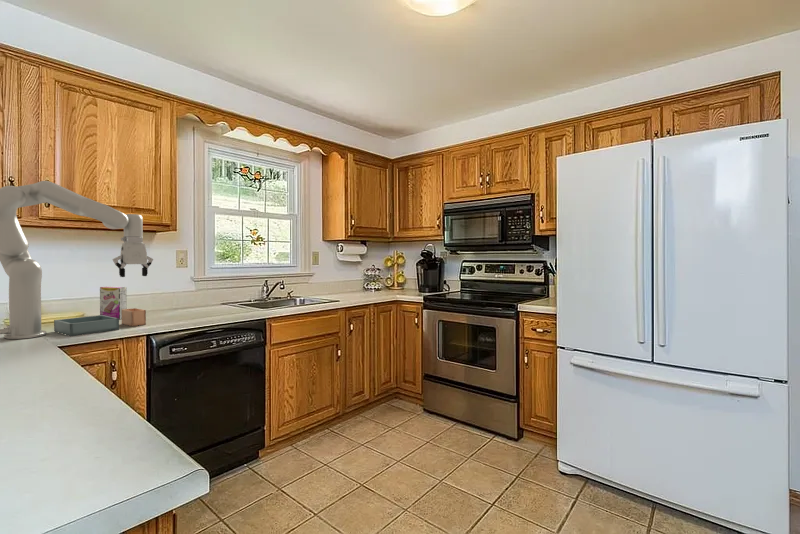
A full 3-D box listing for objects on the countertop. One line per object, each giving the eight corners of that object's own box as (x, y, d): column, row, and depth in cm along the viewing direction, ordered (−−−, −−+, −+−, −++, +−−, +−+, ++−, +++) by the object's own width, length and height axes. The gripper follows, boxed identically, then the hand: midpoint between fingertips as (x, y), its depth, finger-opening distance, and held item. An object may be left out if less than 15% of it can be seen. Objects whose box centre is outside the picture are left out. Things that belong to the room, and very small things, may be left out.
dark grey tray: (69, 336, 166) (69, 324, 166) (54, 331, 175) (54, 320, 175) (119, 329, 182) (118, 318, 182) (102, 325, 190) (102, 315, 190)
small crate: (132, 326, 190) (132, 311, 189) (121, 324, 195) (121, 309, 195) (145, 324, 195) (145, 310, 194) (135, 322, 200) (135, 308, 200)
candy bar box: (99, 319, 208) (99, 286, 207) (107, 317, 213) (107, 286, 212) (119, 319, 207) (119, 287, 206) (127, 318, 212) (127, 286, 211)
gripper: (116, 239, 184) (117, 277, 185) (156, 241, 199) (156, 276, 199) (109, 239, 188) (109, 276, 189) (148, 241, 203) (148, 275, 203)
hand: (133, 276), depth 194 cm, fingers open, 9 cm apart
